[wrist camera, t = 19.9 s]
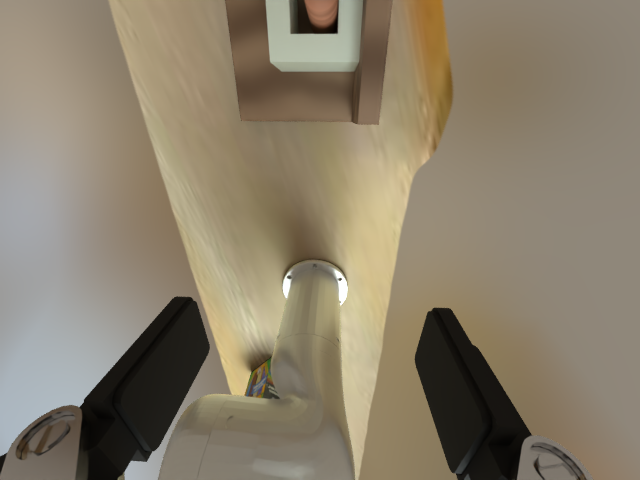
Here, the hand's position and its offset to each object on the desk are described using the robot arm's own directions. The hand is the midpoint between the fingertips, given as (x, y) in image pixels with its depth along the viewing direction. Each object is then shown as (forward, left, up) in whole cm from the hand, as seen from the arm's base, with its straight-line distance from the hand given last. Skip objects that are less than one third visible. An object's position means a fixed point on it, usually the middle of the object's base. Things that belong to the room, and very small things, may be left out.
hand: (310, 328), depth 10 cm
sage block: (+17, +2, -29) cm, 33 cm away
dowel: (+17, +1, -29) cm, 33 cm away
